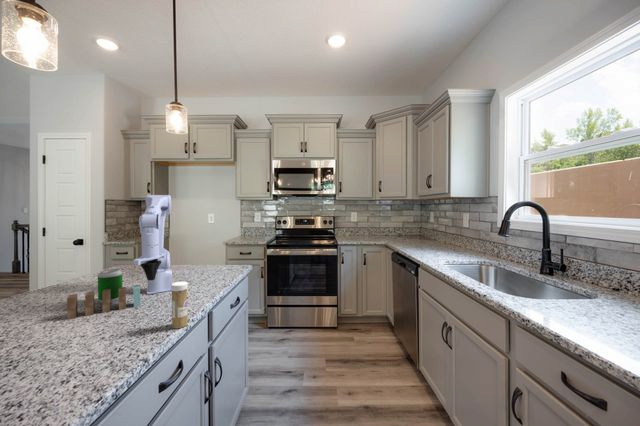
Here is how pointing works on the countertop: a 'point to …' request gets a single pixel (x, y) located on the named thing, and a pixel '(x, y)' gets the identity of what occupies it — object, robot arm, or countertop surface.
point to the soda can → (110, 283)
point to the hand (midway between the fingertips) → (151, 279)
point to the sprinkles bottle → (179, 304)
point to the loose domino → (136, 295)
